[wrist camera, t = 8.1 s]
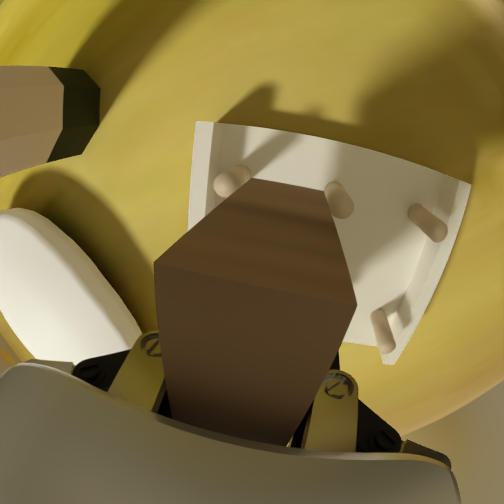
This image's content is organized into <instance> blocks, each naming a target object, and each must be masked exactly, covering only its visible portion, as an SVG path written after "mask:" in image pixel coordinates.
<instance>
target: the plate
mask: <svg viewBox="0 0 504 504" xmlns="http://www.w3.org/2000/svg"><path fill="white" fill-rule="evenodd" d="M0 310H1V312H2V314H3V315H4V317H5V319H6V320H7V322H8V323H9V325H10V327H11V328H12V330H13V331H14V333H15V334H16V335H17V337H18V338H19V339H20V340H21V342H22V343H23V344H24V346H25V347H26V348H27V349H28V350H29V351H30V353H31V354H32V355H33V356H34V357H35V358H36V359H40V360H50V361H64V362H73V364H74V365H77V364H78V363H79V362H81V361H83V360H85V359H89V358H94V357H98V356H103V355H108V354H112V353H116V352H121V351H125V350H129V349H132V347H133V345H134V344H135V342H136V340H137V339H138V338H139V336H140V335H142V332H141V330H140V328H139V326H138V324H137V323H136V321H135V319H134V317H133V316H132V314H131V313H130V311H129V310H128V308H127V307H126V305H125V304H124V302H123V301H122V299H121V298H120V296H119V295H118V294H117V293H116V291H115V290H114V289H113V288H112V286H111V285H110V284H109V283H108V281H107V280H106V279H105V277H104V276H103V275H102V273H101V272H100V271H99V269H98V268H97V267H96V265H95V264H94V263H93V261H92V260H91V259H90V258H89V257H88V256H87V255H86V254H85V252H84V251H83V250H82V249H81V248H80V247H79V246H78V245H77V244H76V243H75V241H73V240H72V239H71V238H70V237H69V236H67V235H66V234H65V233H64V232H63V231H62V230H60V229H59V228H58V227H57V226H56V225H55V224H54V223H52V222H51V221H50V220H49V219H47V218H45V217H44V216H42V215H40V214H38V213H37V212H35V211H32V210H28V209H24V208H12V209H7V210H2V211H0Z"/></svg>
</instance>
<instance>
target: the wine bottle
mask: <svg viewBox="0 0 504 504" xmlns="http://www.w3.org/2000/svg"><path fill="white" fill-rule="evenodd" d="M99 101H100V88H99V86H98V85H97V84H96V83H95V82H94V81H93V80H92V79H91V78H90V77H89V76H88V75H87V74H86V73H85V71H84V70H79V69H70V68H59V67H44V66H0V178H1V177H3V176H6V175H9V174H12V173H15V172H18V171H21V170H24V169H28V168H31V167H34V166H38V165H41V164H45V163H48V162H52V161H56V160H60V159H63V158H68V157H72V156H76V155H80V154H82V152H83V151H84V149H85V147H86V146H87V144H88V142H89V140H90V139H91V137H92V136H93V134H94V132H95V131H96V129H97V128H98V126H99Z"/></svg>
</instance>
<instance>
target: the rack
mask: <svg viewBox="0 0 504 504" xmlns="http://www.w3.org/2000/svg"><path fill="white" fill-rule="evenodd" d="M251 178H257V179H263V180H269V181H275V182H280V183H286V184H291V185H296V186H302V187H307V188H312V189H316V190H321V191H324V193H325V196H326V199H327V202H328V205H329V208H330V211H331V214H332V217H333V220H334V223H335V226H336V229H337V232H338V236H339V239H340V242H341V246H342V249H343V252H344V256H345V259H346V263H347V266H348V270H349V274H350V277H351V281H352V285H353V289H354V293H355V296H356V301H357V305H358V306H357V308H356V311H355V313H354V316H353V318H352V320H351V323H350V325H349V327H348V330H347V332H346V334H345V337H344V339H343V341H342V342H348V343H356V344H363V345H371V346H378V350H379V352H380V353H381V357H382V361H383V364H390V365H394V364H395V362H396V361H397V359H398V358H399V356H400V354H401V353H402V351H403V349H404V348H405V346H406V344H407V343H408V341H409V339H410V338H411V336H412V334H413V332H414V330H415V329H416V327H417V325H418V323H419V321H420V319H421V317H422V315H423V314H424V312H425V310H426V308H427V306H428V304H429V302H430V299H431V297H432V295H433V293H434V291H435V289H436V287H437V284H438V282H439V280H440V278H441V275H442V273H443V271H444V268H445V266H446V263H447V261H448V258H449V256H450V253H451V250H452V248H453V245H454V242H455V239H456V236H457V233H458V230H459V227H460V224H461V221H462V218H463V215H464V211H465V208H466V204H467V201H468V197H469V193H470V189H471V185H470V184H468V183H466V182H463V181H461V180H459V179H456V178H454V177H451V176H448V175H446V174H443V173H441V172H438V171H435V170H433V169H430V168H427V167H424V166H422V165H419V164H416V163H413V162H410V161H407V160H404V159H401V158H398V157H394V156H391V155H388V154H384V153H381V152H378V151H374V150H370V149H367V148H363V147H359V146H355V145H351V144H347V143H343V142H339V141H334V140H330V139H325V138H320V137H315V136H310V135H305V134H300V133H294V132H288V131H282V130H275V129H269V128H261V127H253V126H245V125H236V124H225V123H216V122H202V121H196V127H195V136H194V146H193V157H192V169H191V182H190V197H189V215H188V231H189V230H190V229H191V228H192V227H193V226H195V225H196V224H197V223H198V222H199V221H200V220H202V219H203V218H204V217H205V216H206V215H207V214H209V213H210V212H211V211H212V210H213V209H214V208H216V207H217V206H218V205H219V204H220V203H222V202H223V201H224V200H225V199H226V198H228V197H229V196H230V195H231V194H232V193H234V192H235V191H236V190H237V189H239V188H240V187H241V186H242V185H243V184H245V183H246V182H247V181H248V180H250V179H251Z"/></svg>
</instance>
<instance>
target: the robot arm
mask: <svg viewBox="0 0 504 504" xmlns="http://www.w3.org/2000/svg"><path fill="white" fill-rule="evenodd" d="M0 504H461V498H460V492H459V488H458V485H457V481H456V478H455V476H454V474H453V472H452V471H451V462H450V459H449V458H448V457H447V456H446V455H444V454H443V453H440V452H437V451H435V450H432V449H430V448H427V447H424V446H422V445H420V444H417V443H415V442H412V441H410V440H408V439H407V440H406V441H402V440H401V437H400V435H399V433H398V432H397V431H396V430H395V429H394V428H392V427H391V426H390V425H389V424H387V423H386V422H385V421H384V420H383V419H381V418H380V417H379V416H378V415H377V414H375V413H374V412H373V411H372V410H371V409H370V408H368V407H367V406H366V405H365V404H364V403H362V402H361V401H360V400H359V399H358V385H357V382H356V381H355V379H354V378H353V377H352V376H351V375H350V374H348V373H346V372H344V371H341V370H340V365H339V352H337V354H336V356H335V359H334V361H333V363H332V365H331V367H330V369H329V371H328V373H327V375H326V377H325V379H324V381H323V383H322V385H321V387H320V389H319V391H318V392H317V394H316V396H315V398H314V400H313V402H312V404H311V405H310V407H309V409H308V411H307V412H306V414H305V416H304V418H303V419H302V421H301V423H300V425H299V426H298V428H297V430H296V431H295V433H294V435H293V436H292V438H291V439H290V441H289V445H288V447H285V446H278V445H272V444H266V443H261V442H256V441H250V440H246V439H241V438H236V437H232V436H228V435H224V434H220V433H216V432H212V431H209V430H205V429H202V428H198V427H195V426H192V425H188V424H185V423H182V422H179V421H176V420H173V419H172V415H171V410H170V405H169V399H168V394H167V388H166V382H165V376H164V369H163V362H162V355H161V347H160V339H159V331H158V330H155V331H149V332H146V333H144V334H142V335H140V336H139V338H138V339H137V340H136V342H135V344H134V345H133V347H132V349H129V350H125V351H121V352H116V353H112V354H108V355H103V356H98V357H94V358H89V359H85V360H83V361H81V362H79V363H78V364H77V365H74V364H73V362H64V361H50V360H40V359H30V360H28V361H25V362H24V363H19V364H16V365H14V366H12V367H10V368H9V369H7V370H6V371H5V372H4V373H2V375H0Z"/></svg>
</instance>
